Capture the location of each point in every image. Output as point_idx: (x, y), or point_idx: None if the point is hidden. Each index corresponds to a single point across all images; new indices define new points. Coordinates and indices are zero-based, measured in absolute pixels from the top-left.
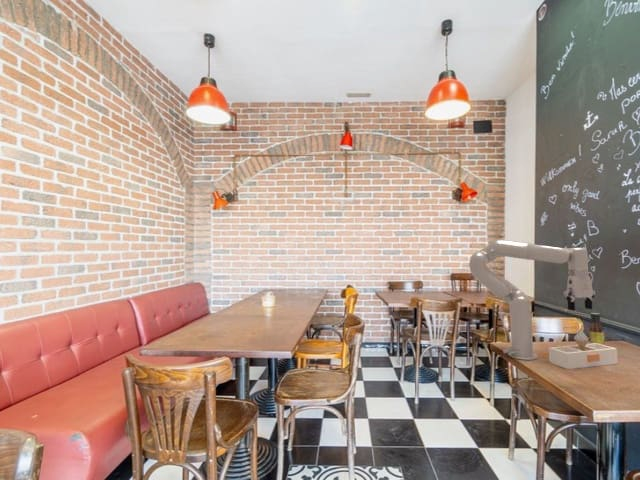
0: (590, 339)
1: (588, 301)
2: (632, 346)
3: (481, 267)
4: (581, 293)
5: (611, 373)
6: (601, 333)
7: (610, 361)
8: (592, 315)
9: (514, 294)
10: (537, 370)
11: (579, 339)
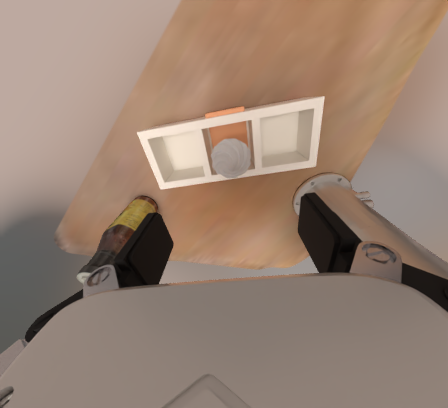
0: None
1: (142, 266)
2: (63, 225)
3: None
4: (321, 374)
5: (223, 45)
6: (119, 222)
7: (172, 123)
8: None
9: None
10: (387, 98)
11: (247, 147)
